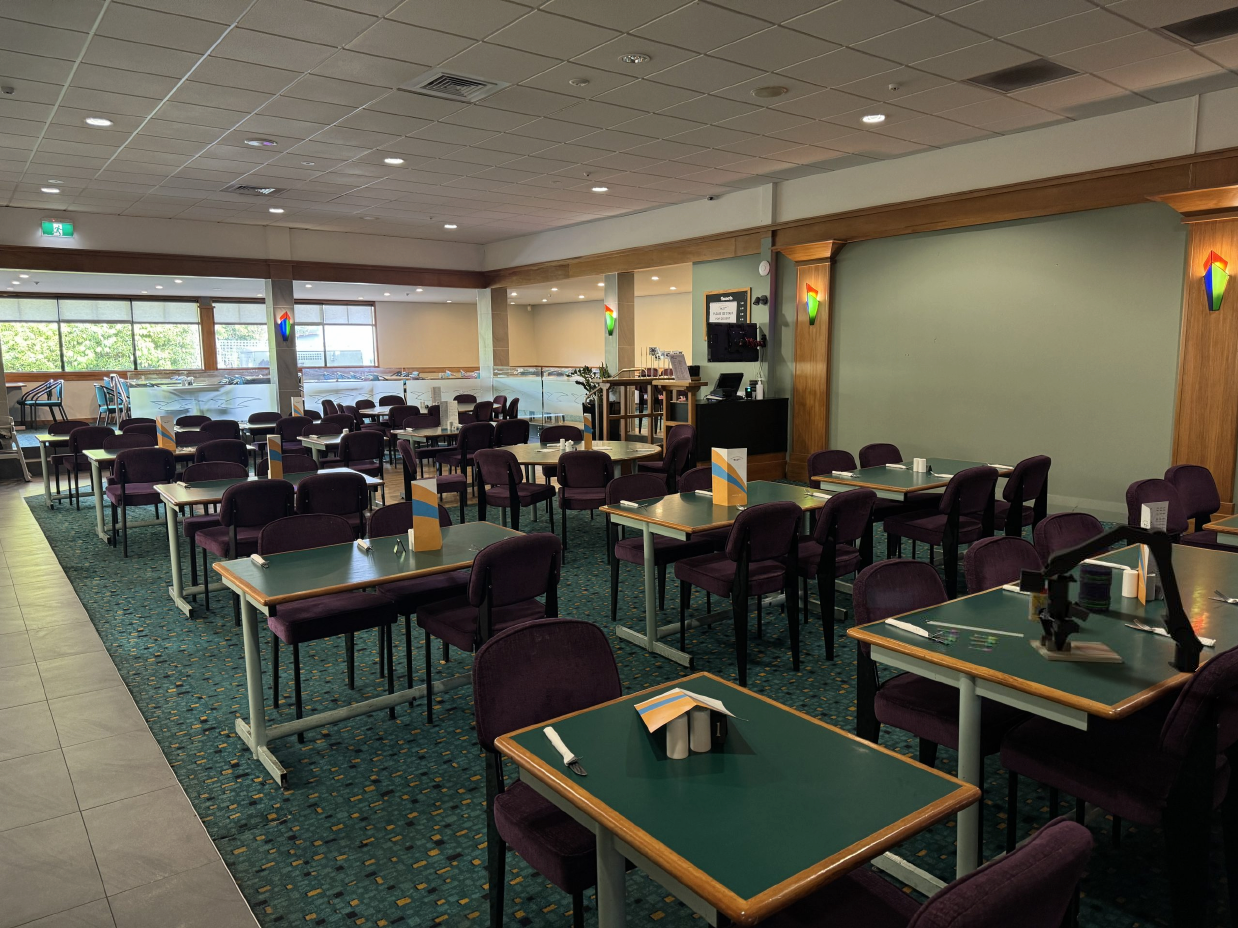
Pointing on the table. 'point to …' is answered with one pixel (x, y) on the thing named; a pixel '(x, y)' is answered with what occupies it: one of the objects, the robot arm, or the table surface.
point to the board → (1080, 652)
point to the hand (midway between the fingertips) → (1054, 646)
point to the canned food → (1036, 603)
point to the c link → (1053, 644)
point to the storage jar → (1095, 588)
